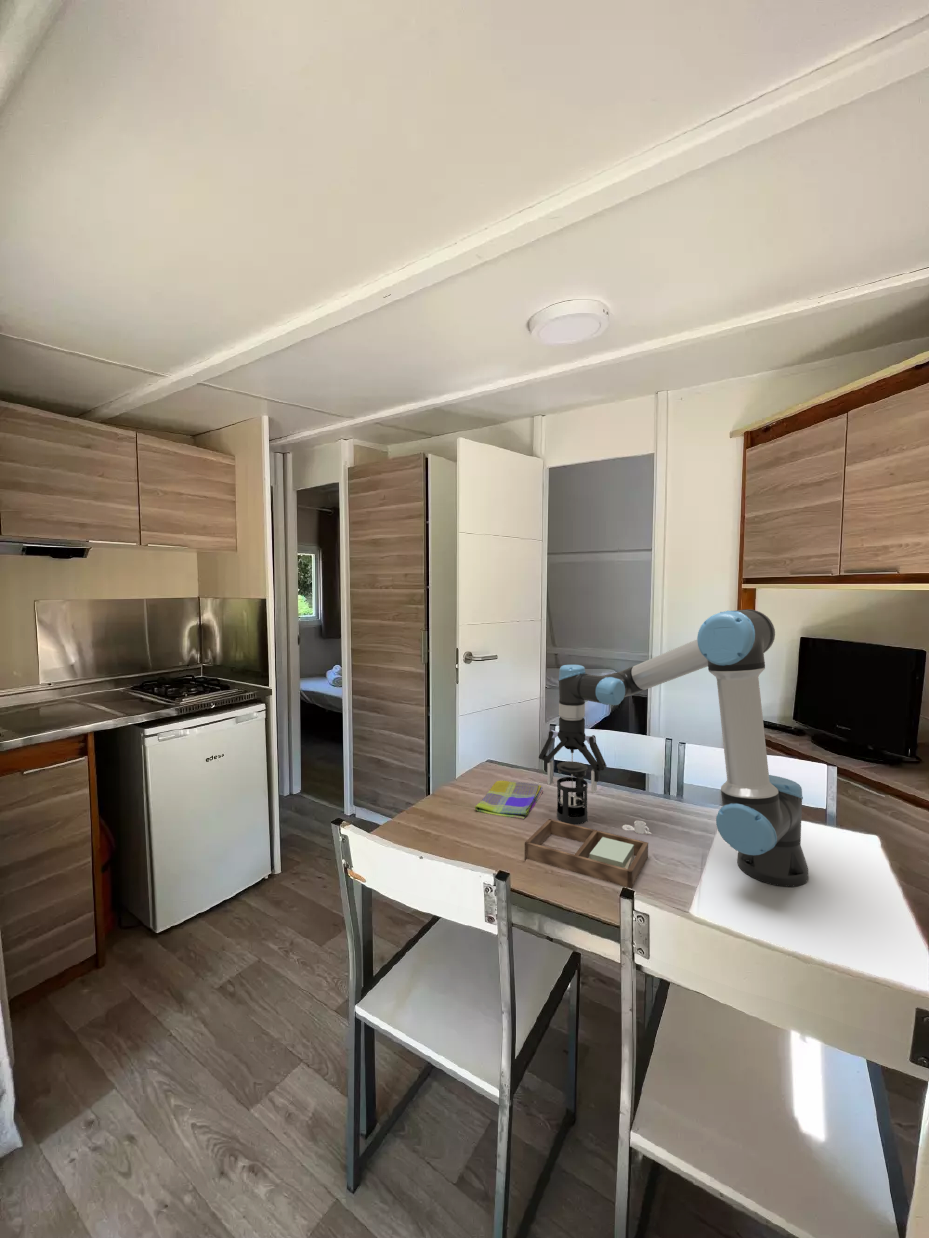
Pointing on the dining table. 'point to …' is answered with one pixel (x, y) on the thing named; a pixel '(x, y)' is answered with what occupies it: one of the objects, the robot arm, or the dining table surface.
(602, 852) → the sage offcut top
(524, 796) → the dish towel
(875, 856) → the dining table surface
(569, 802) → the french press
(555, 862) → the walnut tray
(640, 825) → the teacup and saucer
